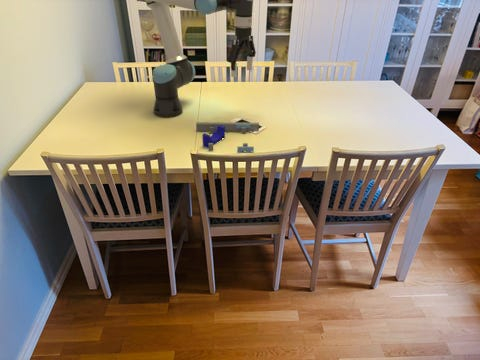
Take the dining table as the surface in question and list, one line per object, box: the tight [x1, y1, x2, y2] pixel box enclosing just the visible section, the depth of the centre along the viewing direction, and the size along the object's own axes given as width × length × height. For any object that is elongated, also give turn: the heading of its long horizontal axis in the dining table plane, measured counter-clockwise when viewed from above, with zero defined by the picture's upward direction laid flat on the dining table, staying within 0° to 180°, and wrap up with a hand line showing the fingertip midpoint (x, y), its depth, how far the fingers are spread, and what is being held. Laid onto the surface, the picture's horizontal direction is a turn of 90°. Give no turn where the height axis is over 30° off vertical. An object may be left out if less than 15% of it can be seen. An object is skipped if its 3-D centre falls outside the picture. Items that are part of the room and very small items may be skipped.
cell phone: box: [229, 117, 267, 135], centre depth 168 cm, size 9×18×1 cm, turn 51°
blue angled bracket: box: [201, 125, 226, 149], centre depth 152 cm, size 12×4×6 cm, turn 144°
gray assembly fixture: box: [195, 121, 260, 153], centre depth 153 cm, size 30×22×4 cm
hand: (241, 73), depth 164 cm, fingers open, 13 cm apart
